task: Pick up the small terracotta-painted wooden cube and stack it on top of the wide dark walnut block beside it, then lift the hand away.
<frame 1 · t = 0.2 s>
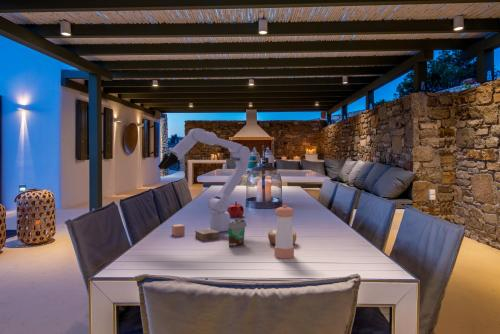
hand: (161, 168, 174), 31 cm above the table, tool tilted 45°, fingers open, 7 cm apart
food container: (238, 245, 161), on the table
pastry: (282, 244, 163), on the table
pepper shaker: (284, 256, 144), on the table
terracotta cube: (178, 234, 179), on the table
walnut block: (207, 239, 172), on the table
pomegranate: (235, 216, 229), on the table
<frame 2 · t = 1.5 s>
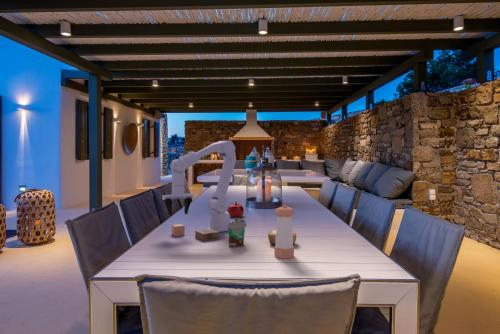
hand: (178, 214, 178), 9 cm above the table, tool pointing down, fingers open, 7 cm apart
nothing on the table moved.
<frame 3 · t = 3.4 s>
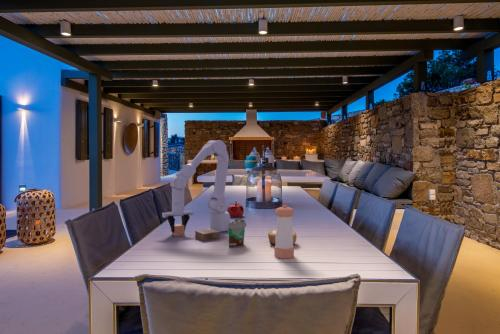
hand: (178, 231, 179), 1 cm above the table, tool pointing down, fingers closed on terracotta cube, 4 cm apart
terracotta cube: (178, 234, 179), on the table, touching gripper
everything else where it was.
when the fingers open (6 cm above the table, at t = 7.0 s): terracotta cube drops 2 cm, resting on walnut block.
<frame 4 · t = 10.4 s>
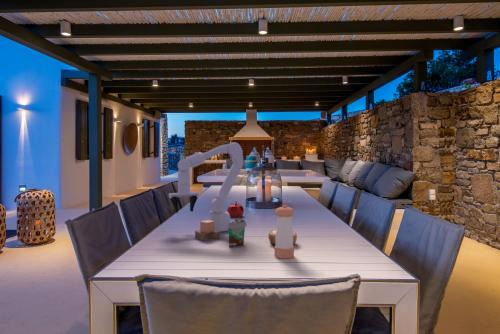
hand: (184, 211, 186), 9 cm above the table, tool pointing down, fingers open, 7 cm apart
terracotta cube: (207, 231, 172), point 3 cm above the table, touching walnut block
walnut block: (207, 239, 172), on the table, touching terracotta cube
everything else where it was.
at the end: terracotta cube 0.1 cm off-centre on the walnut block, point 3.5 cm above the walnut block's base; terracotta cube tilted 0°; the gripper is holding nothing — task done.
